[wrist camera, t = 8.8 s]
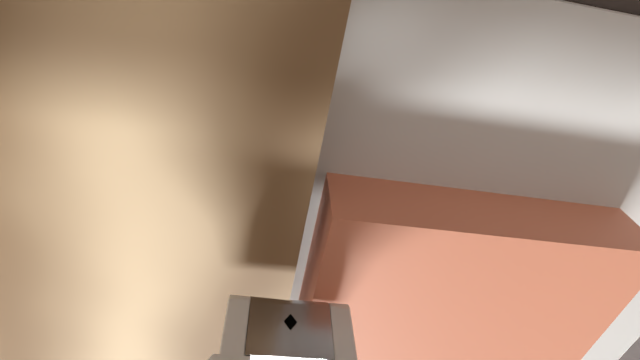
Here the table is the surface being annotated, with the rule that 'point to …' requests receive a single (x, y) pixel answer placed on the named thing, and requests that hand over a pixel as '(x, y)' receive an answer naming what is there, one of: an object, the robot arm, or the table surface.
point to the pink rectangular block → (469, 270)
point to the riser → (154, 167)
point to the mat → (490, 108)
